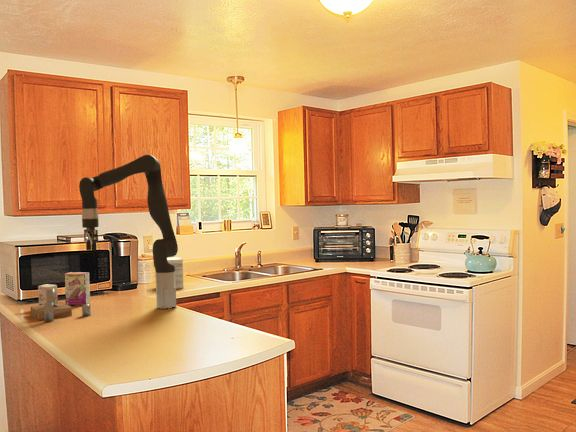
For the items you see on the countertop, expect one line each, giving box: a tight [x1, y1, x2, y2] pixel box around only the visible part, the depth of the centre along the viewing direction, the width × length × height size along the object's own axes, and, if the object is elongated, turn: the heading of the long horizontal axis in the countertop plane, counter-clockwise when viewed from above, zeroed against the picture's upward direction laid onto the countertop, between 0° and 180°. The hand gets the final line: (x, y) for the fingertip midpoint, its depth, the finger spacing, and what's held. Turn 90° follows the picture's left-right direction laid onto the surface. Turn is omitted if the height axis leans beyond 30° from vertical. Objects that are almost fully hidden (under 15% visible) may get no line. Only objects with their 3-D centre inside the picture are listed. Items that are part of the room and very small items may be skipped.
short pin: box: [81, 303, 92, 318], centre depth 232 cm, size 4×4×5 cm
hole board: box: [30, 301, 73, 322], centre depth 235 cm, size 16×14×4 cm
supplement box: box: [167, 256, 184, 290], centre depth 307 cm, size 13×13×18 cm
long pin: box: [46, 289, 55, 307], centre depth 235 cm, size 4×4×12 cm
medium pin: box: [43, 302, 54, 323], centre depth 222 cm, size 4×4×8 cm
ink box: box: [37, 283, 59, 305], centre depth 251 cm, size 9×5×12 cm, turn 62°
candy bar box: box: [64, 271, 91, 306], centre depth 260 cm, size 11×5×16 cm, turn 84°
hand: (91, 250), depth 252 cm, fingers open, 8 cm apart
